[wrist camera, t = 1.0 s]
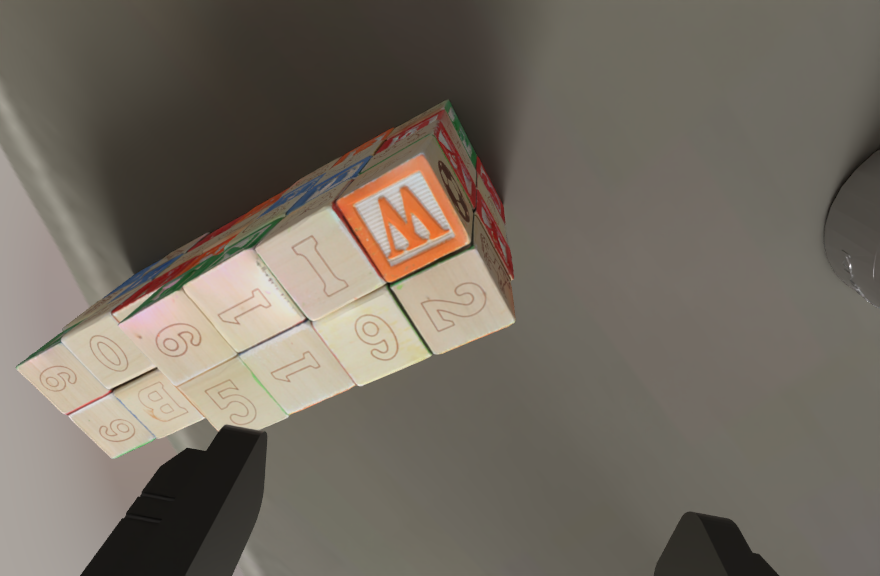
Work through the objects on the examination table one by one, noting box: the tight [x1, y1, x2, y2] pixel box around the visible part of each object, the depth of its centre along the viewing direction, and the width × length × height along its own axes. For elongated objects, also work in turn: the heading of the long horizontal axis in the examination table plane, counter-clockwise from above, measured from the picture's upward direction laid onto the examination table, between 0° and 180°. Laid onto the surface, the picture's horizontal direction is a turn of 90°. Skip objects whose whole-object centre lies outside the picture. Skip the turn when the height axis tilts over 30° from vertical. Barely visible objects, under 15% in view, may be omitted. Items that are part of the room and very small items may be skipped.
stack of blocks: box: [16, 100, 516, 459], centre depth 24 cm, size 21×6×12 cm, turn 119°
